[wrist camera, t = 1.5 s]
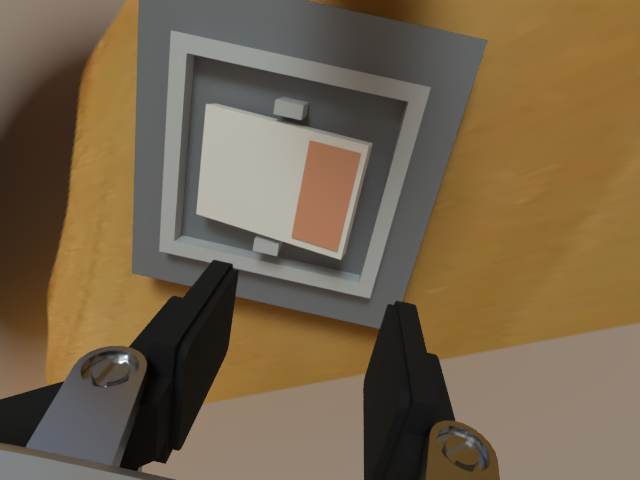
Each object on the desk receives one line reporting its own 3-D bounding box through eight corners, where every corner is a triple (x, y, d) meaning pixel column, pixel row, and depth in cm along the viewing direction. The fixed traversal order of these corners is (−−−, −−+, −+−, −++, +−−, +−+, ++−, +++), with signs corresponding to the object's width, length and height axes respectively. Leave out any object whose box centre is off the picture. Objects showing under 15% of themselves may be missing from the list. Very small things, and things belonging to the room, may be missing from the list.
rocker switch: (372, 143, 23) (368, 145, 22) (345, 253, 26) (340, 260, 25) (216, 103, 25) (205, 103, 24) (206, 209, 28) (195, 214, 27)
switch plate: (474, 43, 26) (502, 36, 21) (389, 310, 34) (395, 353, 28) (163, -25, 26) (114, -49, 21) (150, 256, 34) (112, 290, 29)
